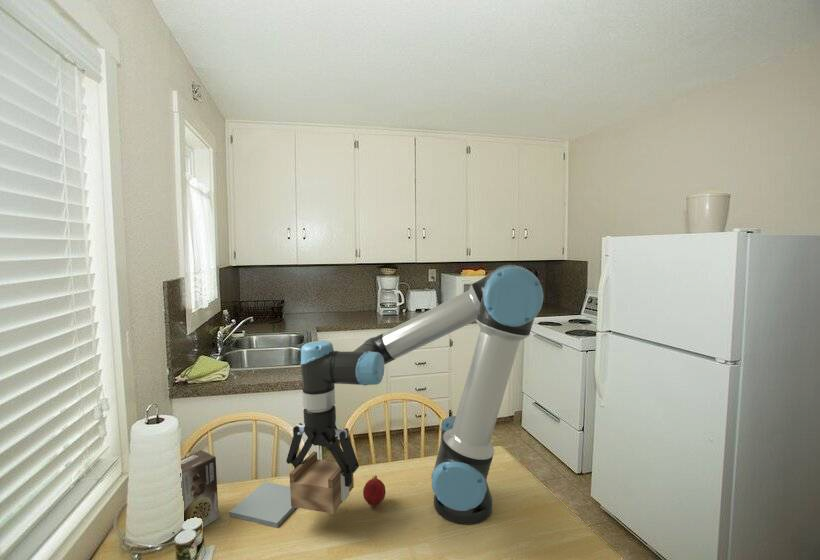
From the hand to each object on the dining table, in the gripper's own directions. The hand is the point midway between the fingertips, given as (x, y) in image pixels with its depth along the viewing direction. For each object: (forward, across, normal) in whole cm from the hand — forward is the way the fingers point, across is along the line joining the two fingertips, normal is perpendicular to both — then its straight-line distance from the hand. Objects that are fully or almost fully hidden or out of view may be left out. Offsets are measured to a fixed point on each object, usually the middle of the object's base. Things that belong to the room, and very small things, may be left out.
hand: (323, 494), depth 100 cm
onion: (+8, -9, -10) cm, 15 cm away
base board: (+7, +17, -2) cm, 18 cm away
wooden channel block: (+1, 0, 0) cm, 1 cm away
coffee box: (+6, +30, +10) cm, 32 cm away
